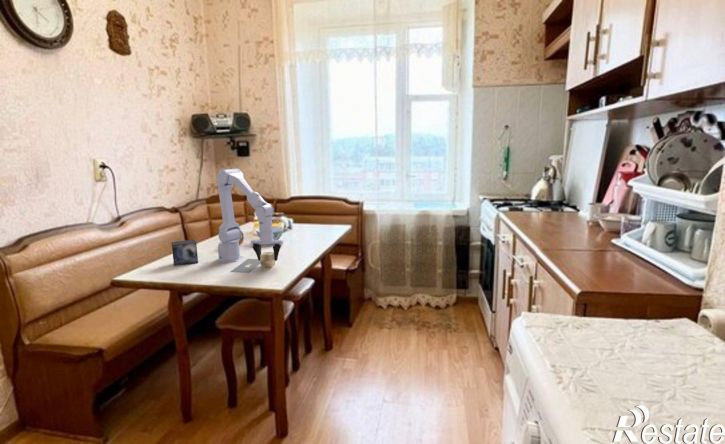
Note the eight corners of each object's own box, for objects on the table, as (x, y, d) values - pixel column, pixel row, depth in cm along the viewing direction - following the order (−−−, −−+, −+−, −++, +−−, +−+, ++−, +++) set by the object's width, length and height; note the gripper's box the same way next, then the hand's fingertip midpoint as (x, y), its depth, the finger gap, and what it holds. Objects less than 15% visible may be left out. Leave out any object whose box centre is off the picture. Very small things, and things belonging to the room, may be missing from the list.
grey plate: (229, 272, 175) (229, 272, 175) (248, 259, 194) (248, 258, 194) (249, 273, 174) (249, 272, 174) (265, 259, 193) (265, 259, 193)
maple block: (261, 267, 181) (260, 255, 179) (265, 264, 185) (264, 251, 184) (271, 268, 180) (270, 255, 179) (275, 264, 185) (274, 252, 184)
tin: (230, 249, 212) (229, 234, 211) (225, 249, 213) (224, 234, 211) (244, 242, 227) (243, 228, 225) (239, 242, 227) (238, 228, 226)
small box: (174, 266, 185) (171, 244, 183) (173, 263, 190) (171, 241, 188) (198, 263, 190) (196, 241, 187) (197, 259, 195) (195, 239, 193)
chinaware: (289, 241, 229) (288, 227, 227) (270, 247, 216) (269, 233, 215) (270, 238, 237) (269, 225, 235) (251, 243, 224) (250, 230, 223)
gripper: (247, 232, 176) (249, 262, 179) (278, 233, 175) (280, 263, 177) (253, 229, 183) (255, 257, 186) (283, 229, 181) (285, 258, 184)
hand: (268, 260), depth 182 cm, fingers open, 7 cm apart
